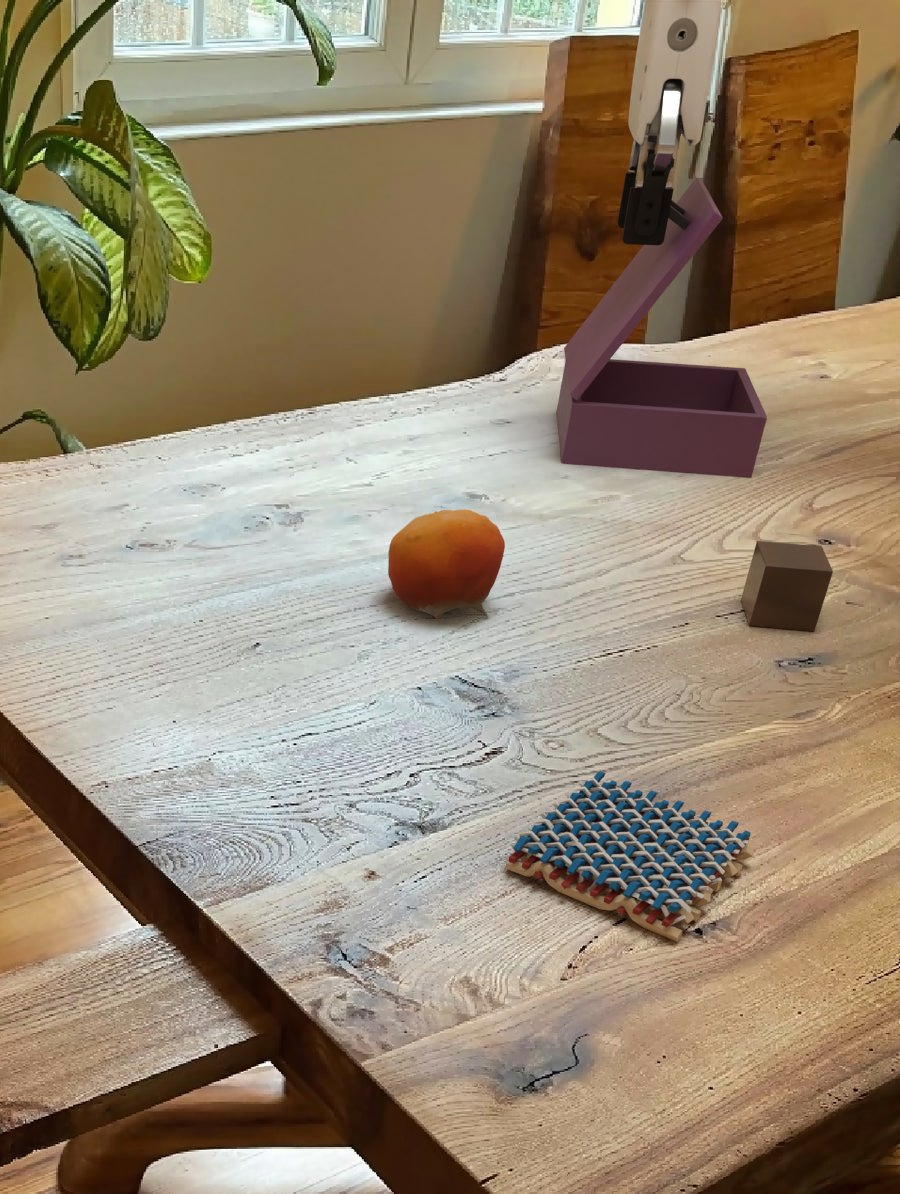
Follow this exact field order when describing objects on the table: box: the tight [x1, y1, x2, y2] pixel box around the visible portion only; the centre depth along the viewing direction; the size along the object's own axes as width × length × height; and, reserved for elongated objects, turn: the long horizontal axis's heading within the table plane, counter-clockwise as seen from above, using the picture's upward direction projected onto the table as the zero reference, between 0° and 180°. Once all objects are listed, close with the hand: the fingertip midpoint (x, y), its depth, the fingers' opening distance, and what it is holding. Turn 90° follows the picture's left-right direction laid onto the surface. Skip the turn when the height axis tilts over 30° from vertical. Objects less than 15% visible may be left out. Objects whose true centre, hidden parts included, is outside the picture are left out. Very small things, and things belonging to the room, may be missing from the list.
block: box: [740, 540, 834, 632], centre depth 104 cm, size 4×4×4 cm
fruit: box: [387, 509, 506, 622], centre depth 104 cm, size 8×8×8 cm
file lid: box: [563, 177, 723, 400], centre depth 121 cm, size 16×14×5 cm
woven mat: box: [504, 770, 755, 943], centre depth 80 cm, size 10×11×2 cm
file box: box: [555, 358, 768, 479], centre depth 128 cm, size 16×14×7 cm
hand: (639, 233), depth 119 cm, fingers closed on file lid, 5 cm apart
